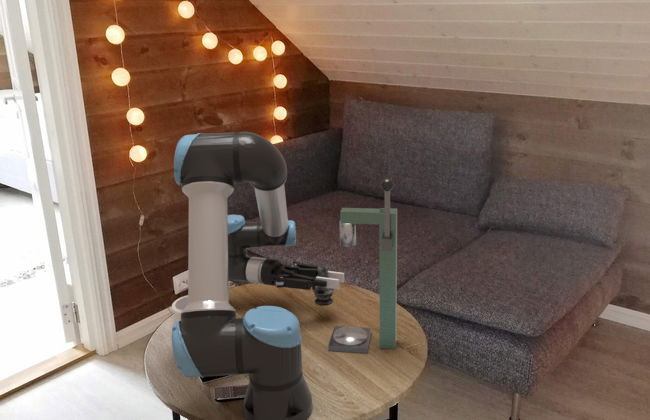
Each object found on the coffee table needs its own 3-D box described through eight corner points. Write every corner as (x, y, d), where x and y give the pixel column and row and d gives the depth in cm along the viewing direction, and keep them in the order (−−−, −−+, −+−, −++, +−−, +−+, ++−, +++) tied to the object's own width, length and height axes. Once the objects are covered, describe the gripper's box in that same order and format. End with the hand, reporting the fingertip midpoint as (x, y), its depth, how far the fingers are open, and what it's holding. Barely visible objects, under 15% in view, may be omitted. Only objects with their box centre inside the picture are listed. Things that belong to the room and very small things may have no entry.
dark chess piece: (331, 295, 166) (330, 257, 162) (336, 304, 160) (335, 265, 156) (311, 298, 165) (309, 259, 161) (315, 307, 159) (313, 267, 155)
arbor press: (394, 355, 145) (395, 181, 130) (328, 350, 148) (322, 179, 133) (397, 334, 155) (398, 169, 140) (334, 330, 158) (329, 168, 143)
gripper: (277, 271, 175) (351, 280, 167) (252, 295, 160) (331, 306, 152) (276, 248, 173) (350, 257, 165) (250, 270, 158) (330, 281, 150)
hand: (341, 281), depth 158 cm, fingers closed on dark chess piece, 4 cm apart
